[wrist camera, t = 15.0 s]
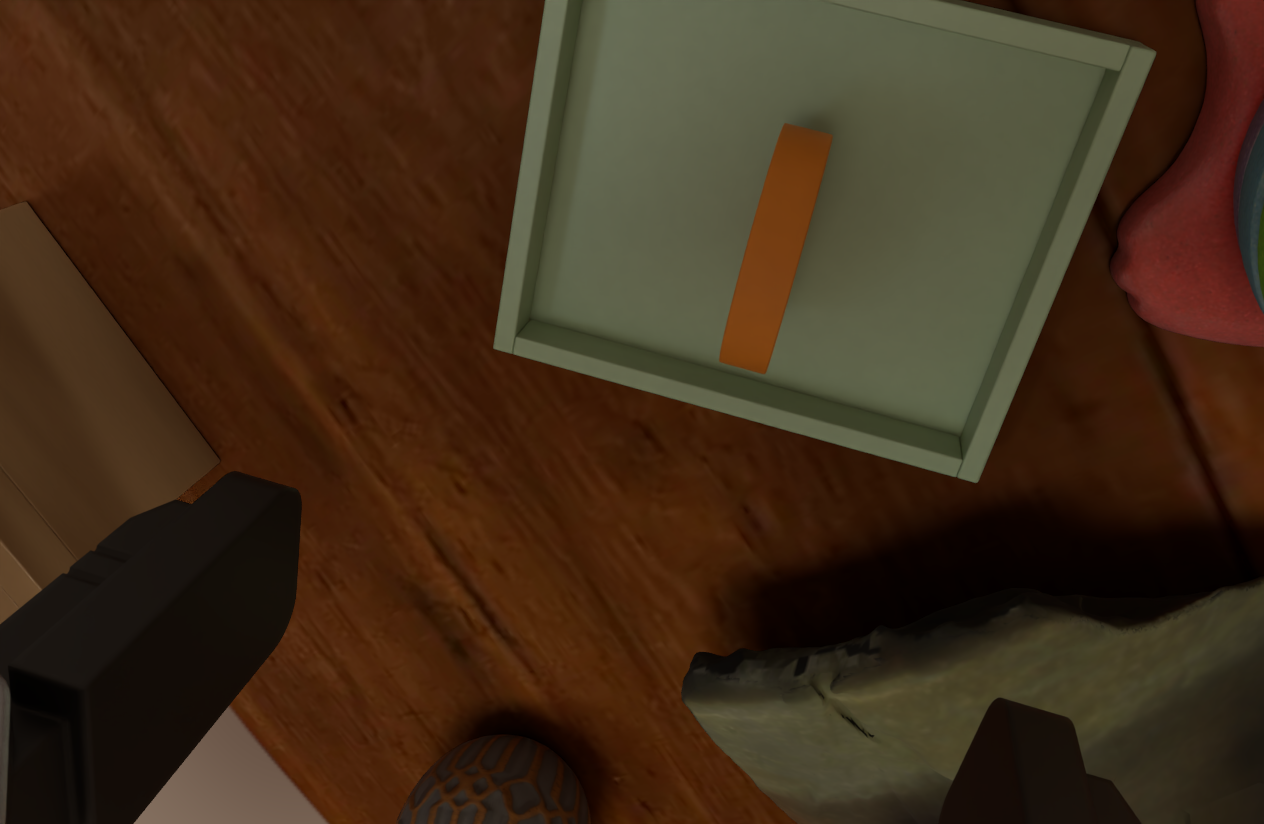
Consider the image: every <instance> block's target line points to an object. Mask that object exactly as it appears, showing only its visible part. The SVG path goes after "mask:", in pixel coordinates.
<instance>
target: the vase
mask: <svg viewBox="0 0 1264 824" xmlns="http://www.w3.org/2000/svg"><path fill="white" fill-rule="evenodd" d="M396 824H591V816H590V811H589V806H588V801H587V798H586V795H585V792H584V790H583V788H582V786H581V784H580V782H579V780H578V778H577V777H576V775H575V774H574V772H573V771H572V769H571V768H570V767H569V766H568V765H567V764H566V763H565V761H564V760H563V759H562V758H561V757H560V756H559V755H557V754H556V753H555V752H554V751H552V750H551V749H550V748H548V747H547V746H545V745H543V744H541V743H539V742H537V741H535V740H532V739H529V738H526V737H522V736H516V735H489V736H484V737H480V738H476V739H473V740H470V741H467V742H465V743H463V744H461V745H459V746H457V747H456V748H454V749H452V750H451V751H449V752H448V753H446V754H445V755H444V756H443V757H441V758H440V759H439V760H438V761H437V762H436V763H435V764H434V765H432V766H431V768H430V769H429V770H428V771H427V772H426V773H425V774H424V775H423V776H422V778H421V779H420V780H419V782H418V783H417V785H416V786H415V788H414V789H413V791H412V792H411V794H410V795H409V797H408V799H407V801H406V802H405V804H404V806H403V808H402V810H401V812H400V814H399V817H398V819H397V822H396Z"/></svg>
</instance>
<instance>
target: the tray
mask: <svg viewBox="0 0 1264 824" xmlns="http://www.w3.org/2000/svg"><path fill="white" fill-rule="evenodd" d="M1155 56H1156V51H1154V50H1153V49H1151V48H1149V47H1147V46H1145V45H1143V44H1142V43H1140V42H1138V41H1134V40H1130V39H1125V38H1121V37H1117V36H1113V35H1108V34H1104V33H1100V32H1095V31H1091V30H1087V29H1082V28H1078V27H1074V26H1070V25H1065V24H1061V23H1057V22H1052V21H1048V20H1044V19H1040V18H1035V17H1031V16H1027V15H1022V14H1018V13H1014V12H1009V11H1005V10H1001V9H997V8H992V7H988V6H984V5H979V4H975V3H971V2H967V1H962V0H545V5H544V12H543V18H542V25H541V32H540V39H539V45H538V52H537V59H536V65H535V72H534V79H533V85H532V92H531V99H530V105H529V112H528V119H527V125H526V132H525V139H524V146H523V152H522V159H521V166H520V172H519V179H518V186H517V192H516V199H515V206H514V212H513V219H512V226H511V232H510V239H509V246H508V253H507V259H506V266H505V273H504V279H503V286H502V293H501V299H500V306H499V313H498V319H497V326H496V333H495V339H494V346H493V347H494V349H496V350H499V351H503V352H507V353H510V354H511V353H513V354H514V355H518V356H521V357H525V358H528V359H532V360H536V361H539V362H543V363H546V364H550V365H553V366H557V367H561V368H564V369H568V370H571V371H575V372H579V373H582V374H586V375H589V376H593V377H597V378H600V379H604V380H607V381H611V382H615V383H618V384H622V385H625V386H629V387H633V388H636V389H640V390H643V391H647V392H651V393H654V394H658V395H661V396H665V397H668V398H672V399H676V400H679V401H683V402H686V403H690V404H694V405H697V406H701V407H704V408H708V409H712V410H715V411H719V412H722V413H726V414H730V415H733V416H737V417H740V418H744V419H748V420H751V421H755V422H758V423H762V424H765V425H769V426H773V427H776V428H780V429H783V430H787V431H791V432H794V433H798V434H801V435H805V436H809V437H812V438H816V439H819V440H823V441H827V442H830V443H834V444H837V445H841V446H845V447H848V448H852V449H855V450H859V451H863V452H866V453H870V454H873V455H877V456H880V457H884V458H888V459H891V460H895V461H898V462H902V463H906V464H909V465H913V466H916V467H920V468H924V469H927V470H931V471H934V472H938V473H942V474H945V475H949V476H952V477H956V476H957V477H958V478H960V479H963V480H967V481H971V482H974V483H977V482H978V481H979V479H980V476H981V474H982V471H983V469H984V467H985V464H986V462H987V459H988V457H989V455H990V452H991V450H992V447H993V445H994V443H995V440H996V438H997V435H998V433H999V431H1000V428H1001V426H1002V423H1003V421H1004V419H1005V416H1006V414H1007V411H1008V409H1009V407H1010V404H1011V402H1012V399H1013V397H1014V395H1015V392H1016V390H1017V387H1018V385H1019V383H1020V380H1021V378H1022V375H1023V373H1024V371H1025V368H1026V366H1027V364H1028V361H1029V359H1030V356H1031V354H1032V352H1033V349H1034V347H1035V344H1036V342H1037V340H1038V337H1039V335H1040V332H1041V330H1042V328H1043V325H1044V323H1045V320H1046V318H1047V316H1048V313H1049V311H1050V308H1051V306H1052V304H1053V301H1054V299H1055V296H1056V294H1057V292H1058V289H1059V287H1060V284H1061V282H1062V280H1063V277H1064V275H1065V272H1066V270H1067V268H1068V265H1069V263H1070V260H1071V258H1072V256H1073V253H1074V251H1075V248H1076V246H1077V244H1078V241H1079V239H1080V236H1081V234H1082V232H1083V229H1084V227H1085V224H1086V222H1087V220H1088V217H1089V215H1090V212H1091V210H1092V208H1093V205H1094V203H1095V200H1096V198H1097V196H1098V193H1099V191H1100V188H1101V186H1102V184H1103V181H1104V179H1105V176H1106V174H1107V172H1108V169H1109V167H1110V164H1111V162H1112V160H1113V157H1114V155H1115V152H1116V150H1117V148H1118V145H1119V143H1120V140H1121V138H1122V136H1123V133H1124V131H1125V128H1126V126H1127V124H1128V121H1129V119H1130V116H1131V114H1132V112H1133V109H1134V107H1135V104H1136V102H1137V100H1138V97H1139V95H1140V92H1141V90H1142V88H1143V85H1144V83H1145V80H1146V78H1147V76H1148V73H1149V71H1150V68H1151V66H1152V64H1153V61H1154V59H1155ZM784 123H788V124H792V125H796V126H800V127H804V128H808V129H812V130H816V131H820V132H824V133H828V134H832V135H833V139H832V144H831V148H830V152H829V155H828V159H827V163H826V167H825V171H824V174H823V178H822V182H821V185H820V189H819V193H818V196H817V200H816V203H815V207H814V211H813V214H812V218H811V221H810V225H809V229H808V232H807V236H806V239H805V243H804V246H803V250H802V253H801V257H800V260H799V264H798V268H797V271H796V275H795V278H794V282H793V285H792V288H791V292H790V295H789V299H788V302H787V306H786V309H785V313H784V316H783V320H782V323H781V326H780V330H779V333H778V337H777V340H776V343H775V347H774V350H773V353H772V356H771V360H770V363H769V366H768V369H767V372H766V373H765V374H761V373H757V372H753V371H750V370H746V369H742V368H739V367H735V366H731V365H728V364H724V363H721V362H719V355H720V350H721V345H722V340H723V336H724V331H725V327H726V323H727V319H728V315H729V311H730V307H731V303H732V299H733V295H734V291H735V287H736V283H737V280H738V276H739V272H740V268H741V264H742V261H743V257H744V253H745V250H746V246H747V242H748V239H749V235H750V231H751V228H752V224H753V221H754V217H755V214H756V210H757V207H758V203H759V200H760V196H761V193H762V189H763V186H764V182H765V179H766V176H767V172H768V169H769V166H770V162H771V159H772V156H773V153H774V150H775V146H776V143H777V140H778V137H779V134H780V132H781V129H782V127H783V125H784Z"/></svg>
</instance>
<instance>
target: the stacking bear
mask: <svg viewBox="0 0 1264 824" xmlns="http://www.w3.org/2000/svg"><path fill="white" fill-rule="evenodd" d="M1195 2H1196V10H1197V13H1198V17H1199V21H1200V24H1201V28H1202V32H1203V37H1204V41H1205V46H1206V51H1207V85H1206V92H1205V98H1204V102H1203V106H1202V109H1201V112H1200V115H1199V117H1198V120H1197V122H1196V125H1195V128H1194V130H1193V132H1192V134H1191V136H1190V138H1189V140H1188V142H1187V144H1186V145H1185V147H1184V149H1183V150H1182V152H1181V153H1180V155H1179V156H1178V158H1177V159H1176V161H1175V162H1174V163H1173V165H1172V166H1171V167H1170V168H1169V169H1168V170H1167V171H1166V172H1165V173H1164V174H1163V175H1162V176H1161V177H1160V178H1159V180H1157V181H1156V182H1155V183H1154V184H1153V185H1152V186H1151V187H1150V188H1148V189H1147V190H1146V191H1145V192H1144V193H1143V194H1142V195H1141V196H1140V197H1139V198H1138V199H1137V200H1135V201H1134V202H1133V204H1132V205H1131V206H1130V208H1129V209H1128V210H1127V212H1126V213H1125V214H1124V216H1123V217H1122V219H1121V221H1120V223H1119V226H1118V229H1117V238H1118V242H1119V246H1118V248H1117V251H1116V252H1115V254H1114V255H1113V257H1112V259H1111V262H1110V272H1111V275H1112V277H1113V279H1114V281H1115V282H1116V284H1117V285H1118V286H1119V287H1120V288H1121V289H1123V290H1125V291H1126V292H1127V298H1128V302H1129V304H1130V306H1131V307H1132V309H1133V310H1134V311H1135V312H1136V313H1137V315H1138V316H1140V317H1141V318H1142V319H1144V320H1145V321H1147V322H1149V323H1151V324H1153V325H1155V326H1157V327H1159V328H1161V329H1164V330H1167V331H1170V332H1174V333H1178V334H1182V335H1186V336H1190V337H1194V338H1198V339H1204V340H1210V341H1215V342H1221V343H1228V344H1237V345H1246V346H1259V347H1264V0H1195Z"/></svg>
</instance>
